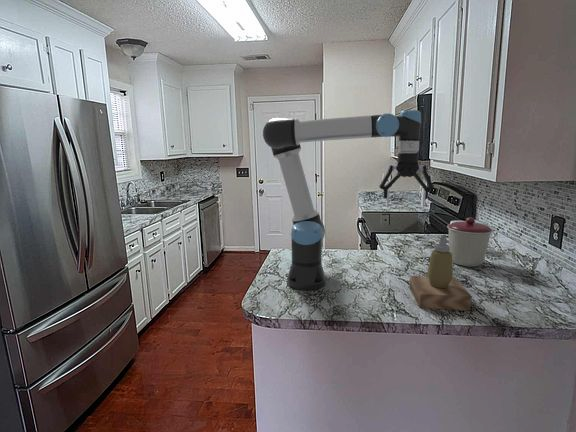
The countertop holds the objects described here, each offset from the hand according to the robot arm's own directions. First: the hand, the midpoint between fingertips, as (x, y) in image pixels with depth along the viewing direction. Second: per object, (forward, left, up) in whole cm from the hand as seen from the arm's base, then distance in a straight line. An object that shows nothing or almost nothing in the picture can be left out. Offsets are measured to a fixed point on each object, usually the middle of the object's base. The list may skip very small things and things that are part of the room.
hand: (404, 206), depth 139 cm
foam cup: (+37, +43, -29) cm, 64 cm away
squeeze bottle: (+9, -21, -24) cm, 33 cm away
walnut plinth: (+9, -21, -29) cm, 37 cm away
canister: (+32, +18, -29) cm, 47 cm away
